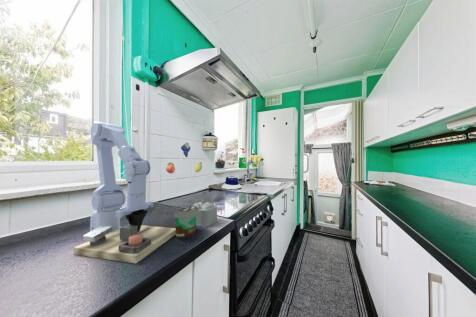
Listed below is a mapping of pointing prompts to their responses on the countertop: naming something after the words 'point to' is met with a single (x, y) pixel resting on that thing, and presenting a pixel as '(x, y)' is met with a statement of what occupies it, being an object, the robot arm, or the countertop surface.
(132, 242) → the push button
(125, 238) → the slider knob
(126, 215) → the robot arm
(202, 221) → the lumpy-topped squat cylinder
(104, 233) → the rocker switch
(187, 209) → the food container
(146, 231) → the control board
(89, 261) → the countertop surface
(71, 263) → the countertop surface
